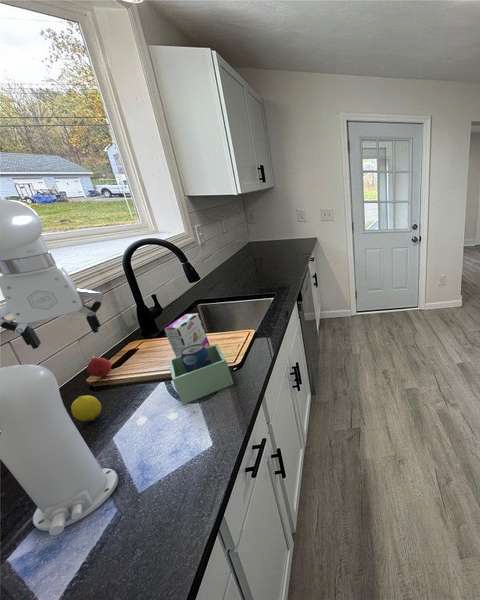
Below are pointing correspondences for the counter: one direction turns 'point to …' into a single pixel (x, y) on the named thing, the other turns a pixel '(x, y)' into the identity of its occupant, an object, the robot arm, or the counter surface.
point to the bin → (201, 376)
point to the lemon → (86, 408)
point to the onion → (98, 367)
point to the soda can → (195, 357)
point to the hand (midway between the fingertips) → (67, 338)
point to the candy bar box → (186, 333)
